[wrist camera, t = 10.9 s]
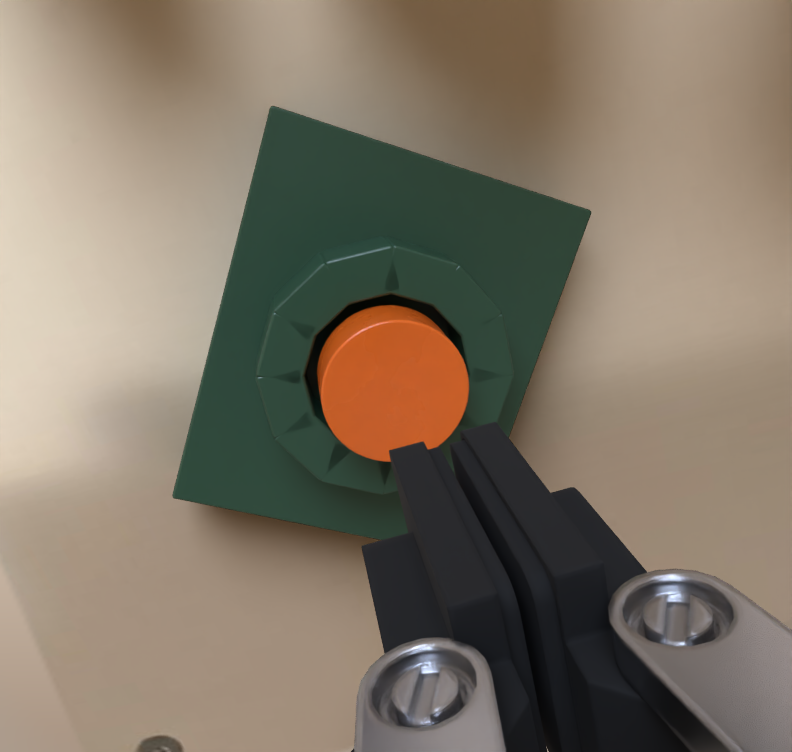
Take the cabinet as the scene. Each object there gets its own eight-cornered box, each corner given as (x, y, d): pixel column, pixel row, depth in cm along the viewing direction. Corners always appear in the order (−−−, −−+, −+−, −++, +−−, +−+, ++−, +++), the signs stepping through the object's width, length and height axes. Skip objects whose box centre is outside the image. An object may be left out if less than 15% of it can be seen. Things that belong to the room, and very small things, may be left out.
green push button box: (449, 523, 25) (480, 591, 22) (180, 466, 23) (162, 530, 20) (563, 204, 23) (621, 218, 19) (270, 107, 21) (270, 101, 17)
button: (429, 449, 20) (443, 476, 19) (300, 419, 20) (303, 445, 18) (471, 324, 20) (490, 342, 18) (339, 287, 19) (345, 302, 17)
